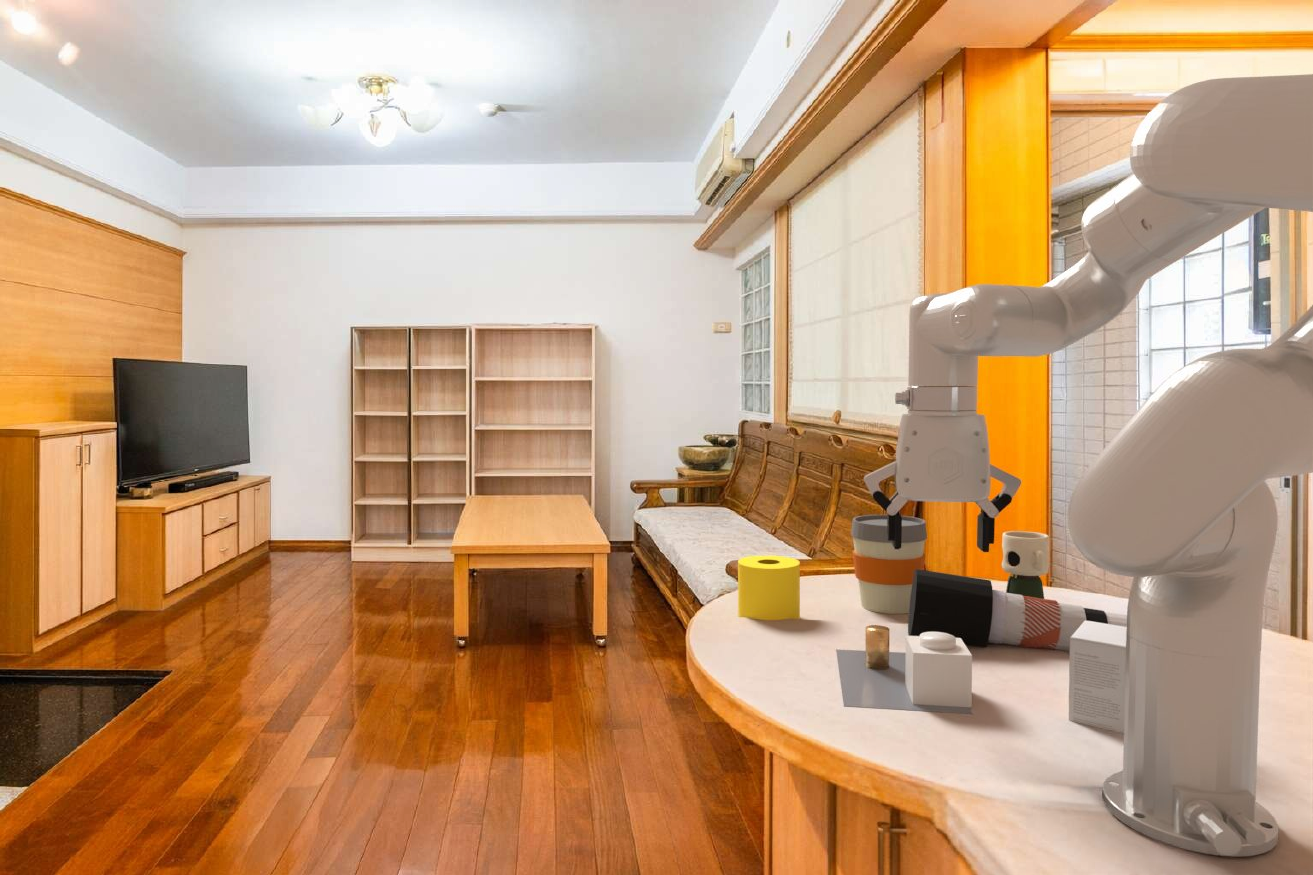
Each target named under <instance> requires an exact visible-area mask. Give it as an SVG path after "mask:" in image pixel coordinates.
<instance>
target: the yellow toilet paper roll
mask: <svg viewBox="0 0 1313 875" xmlns="http://www.w3.org/2000/svg"><path fill="white" fill-rule="evenodd" d="M800 563H801V562H800V560H798V559H796V558H793V557H788V556H782V555H781V556H780V555H752V556H746V557H745V556H744V557H741V558H739V559H738V561H737V581H738V582H737V586H738V587H737V594H738V595H737V597H738V598H737V601H738V602H737V603H738V604H737V607H738V609H737V612H738V613H737V614H738V616H737V617H738V618H750V619H754V620H761V621H763V620H764V621H781V620H799V619H801V618H800V617H801V614H800V612H801V608H800V606H801V605H800V604H801V596H800V595H801V591H800V590H801V588H800V584H801V582H800V580H801V575H800V574H801V572H800V571H801V568H800V567H801V565H800Z"/></svg>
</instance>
